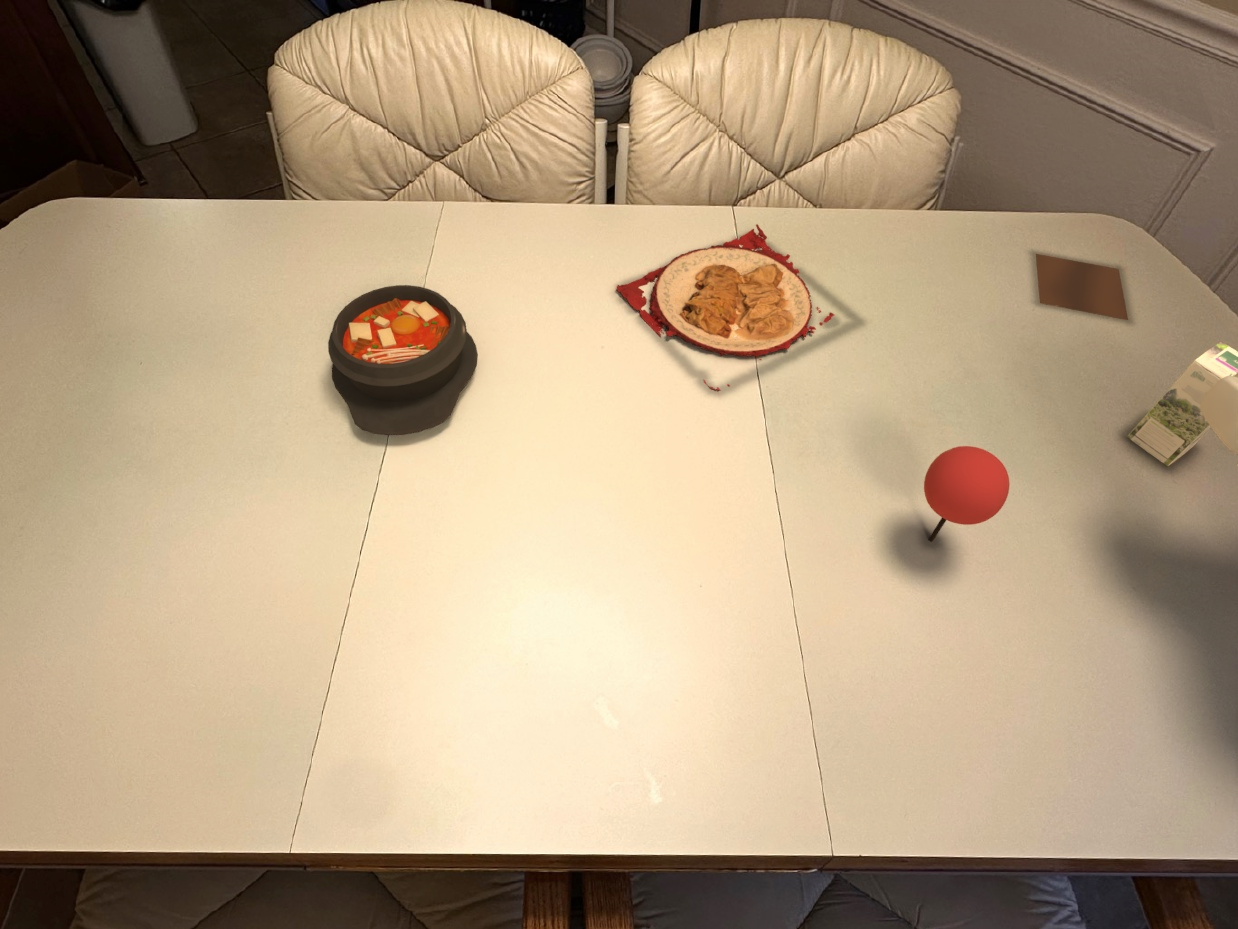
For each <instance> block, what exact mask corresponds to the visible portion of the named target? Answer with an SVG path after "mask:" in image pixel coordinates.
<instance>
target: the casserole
mask: <svg viewBox="0 0 1238 929" xmlns="http://www.w3.org/2000/svg"><path fill="white" fill-rule="evenodd" d="M327 345H328V346H327V348H328V349H327V350H328V351H327V352H328V355H329V357H330V360H331V362H332V365H331V379H332V384H333V386H334V388H335V390H336V391H337V392H338V394H339V396H340V397H341V398H342V400H343V401H344V403H345V404H346V405H347V408H348V410H349V413H350V416H351V418H352V421H353V423H354V425H355V426H356V427H357V428H359V429H360V430H361V431H364V432H367V433H370V434H373V435H380V436H405V435H412V434H417V433H421V432H424V431H428V430H430V429H434V428H435V427H437V426H439V425H441V424H444V422H446V421H447V420H448V419H449V418H450V417H451V416H452V414H453V412H454V410H455V407H456V405H457V402H458V401H459V398H460V395H461V394H462V392H463V391H464V389H465V388H466V386H467V385H468V384H469V382H470V381H471V379H472V378H473V376H474V374H475V371H476V369H477V365H478V356H479V354H478V349H477V348H478V347H477V344H476V343H475V340H474V339H473V337H472V335H471V334H470V333H469V332H468V330H467V325H466V320H465V318H464V316H463V315H462V313H461V312H460V310H458V309H457V308H456V307H455V305H453V304H451V303H450V302H449V300H448V299H447V298H446V297H444V296H443V295H442V294H440V293H439V292H436V291H435V290H432V289H430V288H426V287H423V286H418V285H409V284H401V285H400V284H398V285H397V284H396V285H389V286H384V287H380V288H376V289H373V290H370V291H368V292H366V293H363V294H361V295H359V296H358V297H356V298H354V299H353V300H351V301H349V303H348V304H346V305H345V306H344V307H343V308H342V310H341V311H340V312H339V313H338V314H337V316H336V318H335V320H334V322H333V326H332V329H331V332H330V334H329V338H328V342H327Z"/></svg>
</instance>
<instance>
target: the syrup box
mask: <svg viewBox="0 0 1238 929" xmlns="http://www.w3.org/2000/svg"><path fill="white" fill-rule="evenodd" d="M1237 372H1238V350H1236V349H1235V348H1232V347H1231V346H1230V345H1227V344H1226V343H1224V342H1222V341H1220V342H1218V343H1217V344H1215V345H1213V347H1211V348H1209V349H1208V350H1206V351H1205V352H1204V353H1202V354H1201V355H1199V356H1198V357H1197V358H1196V359H1195V358H1194V360H1193V361H1192V363H1190V364H1189V366H1188V367H1186V369H1185V370H1184V372H1183V373H1181V375H1180V376H1179V377H1178V378H1177V379H1176V380H1175V381H1174V383H1173V384H1172V385H1171V386H1170V387H1169V389H1167V390H1166V392H1165V393H1164V394H1163V395H1162V396H1161V397H1160V398H1159V399H1158V400H1157V402H1156V403H1155V404H1154V405H1153V406H1152V407H1151V408H1150V410H1149V411H1148V412H1147V413H1146V415H1144V417H1142V419H1141V420H1140V421H1139V422H1137V425H1135V426H1134V428H1133V429H1132V430H1131V431H1130V432H1129V433H1128V435H1126V437H1127V438H1128V439H1129V440H1130V441H1132V442H1133V443H1134V444H1136V445H1137V446H1138V447H1140V448H1141V449H1143V451H1146V452H1147V453H1148V454H1150V455H1151V456H1152V457H1154V458H1155V459H1157V460H1158V461H1159V462H1161V463H1162V464H1164V465H1165V466H1166V467H1170V466H1171V465H1172V464H1174V463H1175V462H1176V461H1177V460H1179V459H1181V457H1182V456H1184V455H1185V454H1186V453H1187V452H1189V451H1190V450H1191V449H1192V448H1193V447H1195V445H1196V444H1197V443H1198V442H1199V441H1200V440H1202V438H1203V437H1204V436H1205V435H1206V434H1207V433H1208V432H1209V431H1210V430H1212V428H1211V426H1210V425H1209V423H1208V422H1207V420H1206V419H1205V417H1204V416H1203V414H1202V412H1201V409H1200V405H1201V402H1202V400H1203V399H1204V397H1205V396H1206V395H1207V393H1208V392H1209V391H1210V390H1211V389H1212V387H1213V386H1214V385H1215V384H1216V383H1217V382H1218V381H1219V380H1221V379H1222V378H1224V377H1226V376H1233V377H1234V376H1235V375H1236V374H1237Z"/></svg>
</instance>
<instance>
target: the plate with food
mask: <svg viewBox="0 0 1238 929" xmlns="http://www.w3.org/2000/svg"><path fill="white" fill-rule="evenodd" d="M755 227H756V229H757V231H758V234H757V233H756V232H755V228H752V229H750V230H749V231H748V232H747V233H745V234H742V235H741V236H740V238H735V239H732V240H730V241H725V242H724V243H723V245H722V244H717V245H711V246H710V247H707V248H706V247H705V248H698V249H693V250H689V251H687V252H685V253H681V254H679V255H678V256H675V257H674V258H672V259H671V261H670V262H668V263H667V264H666V265H664V266H661V267H659V268H657V269H655V270H652V271H649V272H648V273H647V274H645V275H644V276H643V277H641V278H638V279H635V280H633V281H631V282H629V283H625V284H621V285H620V284H617V286H616V290H617V292H618V293H620V294H621V295H622V297H623V299H626V301H628V303H629V305H630V306H631V307H632V308H633V309H635V310H637V311H639V314H640V315H641V319H642V320H644V322H645V323H647V325H648V326H649V327H650V328H651V329H652V330H653V331H654V332H655V333H656V334H658V335H659V337H660V338H661V337H662V335H664V334H665V335H666V337H669V338H670V337H672V336H676V337H678V338H680V339H682V340H684V342H686V343H688V344H691V345H693V346H695V347H698V348H700V349H703V350H705V351H708V352H712V353H716V354H718V355H720V356H721V357H722V356H726V355H729V356H736V357H745V358H747V357H750V358H751V357H755V358H757V357H759V356H762V355H768V354H770V353H773V352H776V351H780V350H789V349H790V347H791V345H792V344H793V342H795V341H797V340H798V339H799V337H800V336H803V338H807V333H808V332H810V333H811V334H815V331H814V330H817V328H816V327H815V326H811V325H809V326H808V324H809V321H810V320H811V319H812V316H813V314H812V313H813V310H812V309H813V305H812V303H813V302H812V300H811V299H810V298H811V295H810V294H811V293H810V291H809V289H808V287H807V284H806V282H805V280H803V279H802V278H801V277H800V275H798V274H800V270H799V269H798V268H794V263H793V261H790V262H788V260H789V259H790V258H791V255H790V254H786V255H783V254H782V253H780V252H775V250H773V249H772V248H771V247H770V246H769V245H768V244H767V242H766V240H767V239H768V236H767V235H766V234H765V233H764V231H763V230H762V229H761V228H760V226H759V224H758V223H756V224H755ZM654 281H655V282H654ZM651 282H654V285H653V286H652V292H651V294H650V296H651V297H650V302H649V305H650V306H649V310H650V313H648V311H647V310H646V309H642V308H643V307H645V305H646V304H647V300H648V299H647V298H646V296H644V295H643V294H644V293H645V291H644V290H643V289H641V288H640V287H643V286H646V285H648V284H649V283H651ZM815 311H818V312H817V313H818V314H821V313H822V310H821V309H820V307H819V306H816V307H815ZM828 314H829V315H827V316H826V317H825V318H824V319H823V322H819V323H818V324H819V326H821V327H822V326H823V324H824V323H828V322H829V321H830V320H832V318H833V317H834V316H835V313H833V312H829V313H828ZM734 327H735V328H734ZM663 329H665V330H663ZM667 329H668V330H667ZM803 346H804V345H803ZM751 359H752V358H751ZM758 361H762V358H758ZM703 382H704V383H705V384H707V382H706V380H705V379H703ZM726 386H727V387H730V383H727V385H726ZM710 388H711V389H713V390H716V391H721V389H720V388H719V387H718V386H717V387H716V388H715V387H714V386H710Z"/></svg>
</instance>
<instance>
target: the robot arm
mask: <svg viewBox="0 0 1238 929" xmlns="http://www.w3.org/2000/svg"><path fill="white" fill-rule="evenodd" d="M1200 409H1201V412H1202V414H1203V416H1204V417H1205V419H1206V420H1207V422H1208V423H1209V425H1210V426H1211V430H1212V431H1213V432H1214V433H1215V435H1216V436H1217V438H1218V439H1219V440H1220V441H1221V443H1223V445H1224V446H1226V448H1228V449H1229V450H1230V451H1231V452H1233V453H1234V454H1236V455H1237V456H1238V372H1237V374H1236V375H1235V376H1234V377H1233V376H1226V377H1224V378H1222V379H1221V380H1219V381H1218V382H1217V383H1216V384H1215V385H1214V386H1213V387H1212V389H1211V390H1210V391H1209V392H1208V393H1207V395H1206V396H1205V397H1204V399H1203V400H1202V402H1201V405H1200ZM1236 468H1238V461H1237V462H1236Z"/></svg>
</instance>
